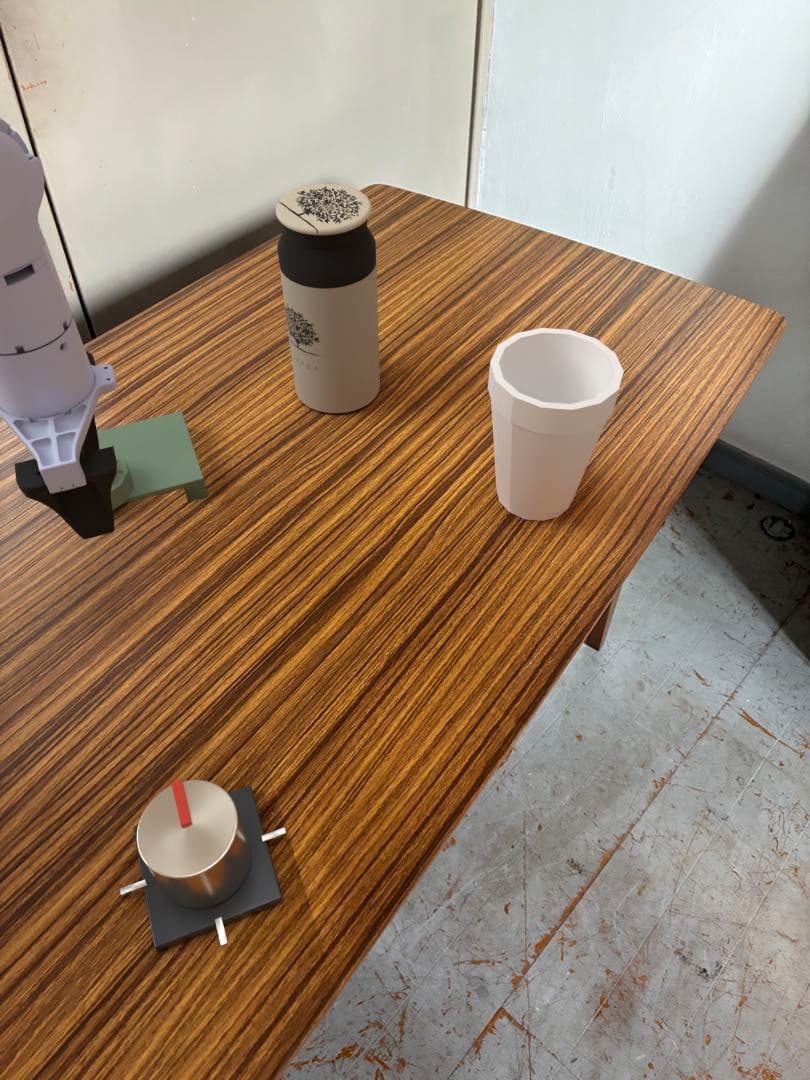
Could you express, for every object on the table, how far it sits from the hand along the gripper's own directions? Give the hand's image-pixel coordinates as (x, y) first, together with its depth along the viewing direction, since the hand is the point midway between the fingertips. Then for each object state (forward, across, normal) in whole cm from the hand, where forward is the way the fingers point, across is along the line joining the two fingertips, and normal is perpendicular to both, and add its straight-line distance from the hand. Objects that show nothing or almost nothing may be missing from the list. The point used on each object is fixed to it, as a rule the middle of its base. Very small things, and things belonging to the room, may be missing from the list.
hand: (91, 492), depth 56 cm
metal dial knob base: (+9, -25, -2) cm, 27 cm away
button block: (+9, +10, -3) cm, 14 cm away
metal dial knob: (+6, -25, -2) cm, 26 cm away
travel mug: (+9, +15, -22) cm, 28 cm away
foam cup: (+9, -4, -33) cm, 35 cm away
